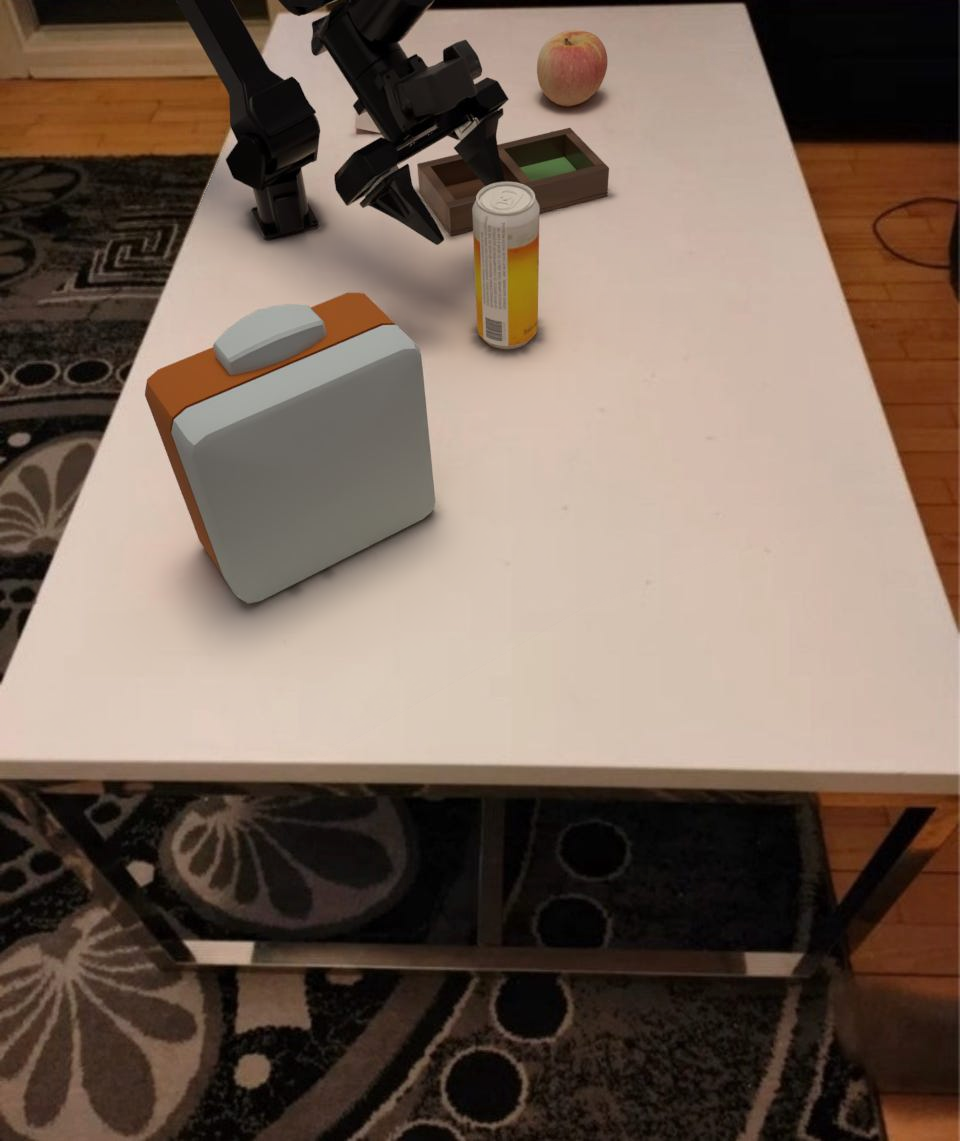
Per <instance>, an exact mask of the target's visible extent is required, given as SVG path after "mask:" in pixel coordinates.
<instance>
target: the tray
mask: <svg viewBox="0 0 960 1141" xmlns="http://www.w3.org/2000/svg"><path fill="white" fill-rule="evenodd" d="M497 146H498V152H499V157H500V161H501V165H502V169H503V173H504V178H505V182H516V183H520V184H523V185H526V186H528V187H529V188H531V189H532V190H533V192H534V194H535V198H536V200H537V202H538V204H539V208H540V212H539V214H542V213H546V212H550V211H555V210H557V209H558V210H559V209H561V208H566V207H569V206H570V207H571V206H574V205H578V204H581V203H585V202H589V201H593V200H597V199H600V198H601V199H602V198H605V197H608V191H609V190H608V189H609V175H610V167H609V166H608V165H607V164H606V163H605V162H604V161H603V160H602V159H601V158H600V157H599V155H597V154H596V152H594V151H593V150H592V149H591V148H590V146H589V145H588V144H587V143H586V142H585V141H584V140H583V139H582V138H581V137H580V136H578V134H577V133H576V132H575V131H574V130H573V129H572V128H571V127H567V128H562V129H558V130H554V131H550V132H545V133H542V134H541V133H540V134H536V135H533V136H529V137H525V138H520V139H516V140H512V141H507V142H503V143H499V144H497ZM416 167H417V178H418V191H419V193H420V194H421V196H422V197H423V199H424V200H425V201H426V204H428V205H429V207H430V209H431V210H432V212H434V214H435V216H436V217H437V218H438V219H439V221H440V223H441V224H442V226H444V228H445V229H446V231H447V232H448V234H449V235H450V236H456V235H461V234H466V233H468V232H473V214H472V208H473V205H474V203H475V201H476V197H477V194H478V192H479V191H480V190H481V189H482V188H484V187H486V186H485V185H484V184H483V183H482V182H481V180H480V179H479V178H478V177H477V176H476V174H475V173H474V172H473V171H472V170H471V168H470V167H469V166H468V165H467V163H466V162H465V161H464V160H463V159H462V158H461V156H460V155H459V154H458V153H457V154H452V155H448V156H444V157H439V158H436V159H432V160H428V161H424V162H419V163H417V164H416Z"/></svg>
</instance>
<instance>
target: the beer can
mask: <svg viewBox="0 0 960 1141" xmlns="http://www.w3.org/2000/svg"><path fill="white" fill-rule="evenodd" d="M539 212H540V208H539V204H538V202H537V200H536V198H535V194H534V192H533V190H532V189H531V188H529V187H528V186H526V185H523V184H520V183H516V182H498V183H493V184H490V185H488V186H486V187H484V188H482V189H481V190H480V191H479V192H478V194H477V197H476V201H475V203H474V205H473V208H472V214H473V231H472V235H473V259H474V285H475V306H476V307H475V309H476V310H475V311H476V330H477V333H478V335H479V336H480V338H482V340H484V341H485V342H486V343H487V345H488V346H489V345H490V346H491V347H492V348H496V349H500V350H513V349H514V350H515V349H518V348H521V347H523V346H525V345H526V344H528V343H529V342H530V341H531V340H532V338H533V337H535V335H537V332H538V330H539V328H538V327H539V273H540V272H539V271H540V270H539V268H540V267H539V266H540V265H539V264H540V213H539Z"/></svg>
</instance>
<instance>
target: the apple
mask: <svg viewBox="0 0 960 1141" xmlns="http://www.w3.org/2000/svg"><path fill="white" fill-rule="evenodd" d="M607 69H608V53H607V49H606V47H605V45H604V43H603V41H602V40H601V38H599V36H597V35H596V34H594V33H591V32H589V31H586V30H580V29H568V30H564V31H562V32H558V33H557V34H555V35H553V36H551V37H550V38H549V39H548V40H547V41H545V43H544V44H543V45H542V47H541V48H540V50H539V52H538V56H537V62H536V74H537V80H538V85H539V87H540V90H541V91H542V93H543V94H544V95H545V96H546V97H547V98H548V99H549V100H550V101H551V102H553V103H554V104H557V105H559V106H563V107H573V106H576V105H580V104H583V103H584V102H586V101H587V100H589V99H590V98H591V97H593V95H594V94H596V92H597V91H598V90H599V89H600V87H601V85H602V83H603V81H604V79H605V77H606V73H607Z"/></svg>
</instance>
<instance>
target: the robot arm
mask: <svg viewBox="0 0 960 1141" xmlns="http://www.w3.org/2000/svg"><path fill="white" fill-rule="evenodd" d="M277 1H278V2H279V3H280V4H281V6H283V7H284V9H286V10H287V11H288V12H289V13H291V14H292V15H293V16H297V17H301V16H305V15H308V14H310V13H313V12H315V11H318V10H319V9H321V8H323V7H326V6H328V5H330V4H332V3H334V2H336V1H338V0H277ZM175 2H176V3H177V5H178V7H179V9H180V10H181V12H182V14H183V16H184V17H185V19H186V21H187V23H188V24H189V26H190V28H191V31H192V32H193V33H194V35H195V37H196V38H197V40H198V42H199V44H200V45H201V48H202V49H203V52H204V53H205V54H206V56H207V58H208V60H209V62H210V63H211V65H212V67H213V68H214V70H215V72H216V73H217V75H218V78H219V79H220V81H221V83H222V84H223V86H224V88H225V89H226V91H227V94H228V97H229V98H228V100H229V101H228V102H229V126H230V129H231V131H232V133H233V136H234V137H235V139H236V144H235V145H234V147H233V148H232V149H231V151H230V152H229V154H228V155H227V157H226V158H225V163H226V165H227V168H228V169H229V171H230V174H231V176H232V178H233V179H234V180H235V181H237V182H240V183H241V184H243V185H246V186H248V187H249V188H251V189H252V190H253V195H254V200H255V205H256V206H254V207H252V208H251V209H250V212H251V215H252V216H253V219H254V221H255V224H256V225H257V227H258V229H259V231H260V233H261V235H262V237H263V239H265V240H270V239H275V238H279V237H282V236H286V235H290V234H295V233H299V232H303V231H306V230H307V231H308V230H311V229H316V228H318V227H319V226H320V222H319V219H318V218H317V216H316V214H315V212H314V210H313V209H312V206H311V205H310V204H309V202H308V198H307V197H308V196H307V192H306V186H305V181H304V176H303V168H304V167H306V166H307V165H309V164H311V163H314V162H316V161H318V152H319V146H320V145H319V144H320V136H321V126H320V123H319V120H318V118H317V115H316V113H317V112H316V110H315V108H314V107H313V106H312V105H311V103H310V102H309V100H308V99H307V97H306V95H305V93H304V90H303V87H302V86H301V84H300V82H299V81H298V80H297V79H296V78H295V77H294V76H289V77H287V78H286V79H284V78H283V77H282V76H280V75H279V74H277V73H275V72H274V71H272V70H271V69H270V68H269V66H268V64H267V63H266V61H265V59H264V57H263V55H262V53H261V52H260V49H259V48H258V46H257V44H256V43H255V41H254V38H253V37H252V35H251V34H250V32H249V30H248V28H247V26H246V23H244V20H243V19H242V17H241V14H240V13H239V11H238V10H237V8H236V6H235V4H234V2H233V1H232V0H175ZM434 2H435V0H344V1H341V2H340V3H337V4H335V6H334V7H333V8H332V9H331V10H330V11H329V13H328V14H326V15H324V16H322V17H319V18H318V19H315V20H314V21H312V22H311V28H312V37H311V40H310V48H311V49H310V50H311V54H312V55H313V56H315V57H317V56H319V55H322V54H324V53H325V52H328V54H329V56H330V57H331V58H332V60H333V62H334V63H335V65H336V66H337V68H338V69H339V71H340V72H341V74H342V76H343V77H344V79H345V81H346V82H347V84H348V86H350V88H351V89H352V91H353V93H354V94H355V96H356V98H357V100H356V101H355V102H354V103H353V105H352V107H353V108H354V111H355V112H356V114H357V113H358V115H361V114H363V113H365V112H367V113H368V114H369V116H370V117H371V119H372V120H373V122H374V124H375V125H376V127H377V128H378V130H379V131H380V133H379V134H380V135H381V136H382V137H378V138H377V139H375V140H373V141H372V142H370V143H368V144H366V145H364V146H363V147H361V148H359V149H356V151H354V152H353V153H352V154H351V155H350V156H349V157H348V159H347V160H345V162H344V163H343V164H342V166H341V167H340V168H339V169H338V170H336V172H335V173H334V186H335V191H336V193H337V194H338V196H339V197H340V199H341V200H342V202H343V203H344V205H345V206H346V207H347V206H348V207H349V206H350V205H353V203H355V202H357V201H359V200H361V199H362V198H363V199H362V200H361V201H360V202H359V203H358V204H359V206H360V207H361V208H362V209H364V208H366V207H371V208H373V209H374V210H377V211H379V212H381V213H383V214H384V215H387V216H388V217H391V218H393V219H394V220H396V221H398V222H399V223H401V224H403V226H404V225H405V226H406V227H407V228H409V229H411V230H412V231H413V232H415V233H417V234H418V235H419V236H422V237H423V238H425V239H426V240H428V241H429V242H431V243H433V244H434V245H436V246H439V245H440V244H442V243H443V242H444V241H445V237H444V235H443V233H442V230H441V229H440V227H439V225H438V223H437V222H436V220H435V218H434V217H433V216H432V214H431V212H430V211H429V209H428V208H427V206H426V204H425V203H424V201H423V199H422V198H421V197H420V196H419V194H418V192H417V191H416V189H415V187H414V185H413V181H412V180H413V179H412V176H411V175H412V174H411V170H410V164H409V163H406V164H405V165H403V166H401V167H399V165H400V164H402V163H404V162H406V161H407V160H409V159H410V158H412V157H414V156H416V155H418V154H419V153H421V152H423V151H424V150H425V149H428V148H429V147H431V146H433V145H434V144H437V143H438V142H440V141H441V140H443V139H444V138H446V137H449V138H452V139H453V140H456V141H459V142H458V143H457V144H456V145H455V146H453V149H454V151H455V152H456V153H457V154H459V155H460V156H461V158H462V159H463V160H464V161H465V162H466V163H467V165H468V166H469V167H470V168H471V170H472V171H473V172H474V173H475V174H476V176H477V177H478V178H479V179H480V180H481V182H482V183H483V184H484V185H485V186H488V185H490V184H493V183H498V182H505V178H504V173H503V169H502V165H501V161H500V157H499V152H498V146H497V145H498V139H497V133H498V126H499V120H500V119H501V118H502V117H503V116H504V108H503V106H504V105H505V104H506V103H507V102H508V101H509V96H508V95H507V93H506V92H505V91H504V89H503V88H502V86H501V84H500V82H499V81H498V80H496V79H493V78H490V77H487V76H486V77H484V78H483V79H482V80H480V81H477V82H476V83H475V80H476V79H477V78H479V77H481V76H482V74H483V67H482V64H481V61H480V58H479V55H478V54H477V52H476V51H475V49H474V48H473V47H472V46H471V44H470V43H469V41H468V40H467V39H463V40H459V41H457V42H454V43H452V44H450V45H448V46H447V47H445V48H444V49H443V50H442V61H439V62H437V63H436V64H433V65H430V66H428V65H427V64H426V62H425V61H424V59H423V57H421V56H419V55H418V54H417V53H415V54H413V55H411V56H409V57H408V56H407V53H406V52H405V50H403V48H402V46H401V45H400V43H399V42H401V41H403V39H405V38H406V37H407V36H408V35H409V33H410V32H411V30H413V28H414V27H415V26H416V25H417V23H418V22H419V21H420V19H421V18H422V17H423V16H424V14H425V13H426V12H427V11H428V10H429V8H430V7H431V6H432V5H433V3H434Z"/></svg>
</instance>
